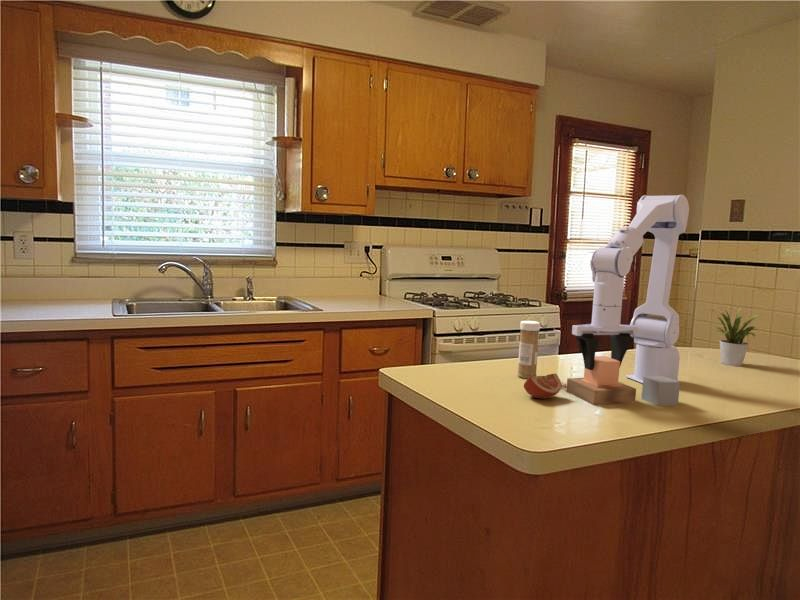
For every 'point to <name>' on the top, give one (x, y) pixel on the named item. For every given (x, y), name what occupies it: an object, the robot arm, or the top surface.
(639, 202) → the robot arm
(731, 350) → the house plant
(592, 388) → the walnut plinth
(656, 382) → the slate cube
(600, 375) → the terracotta cube
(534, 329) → the sprinkles bottle
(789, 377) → the top surface
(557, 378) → the fruit slice
